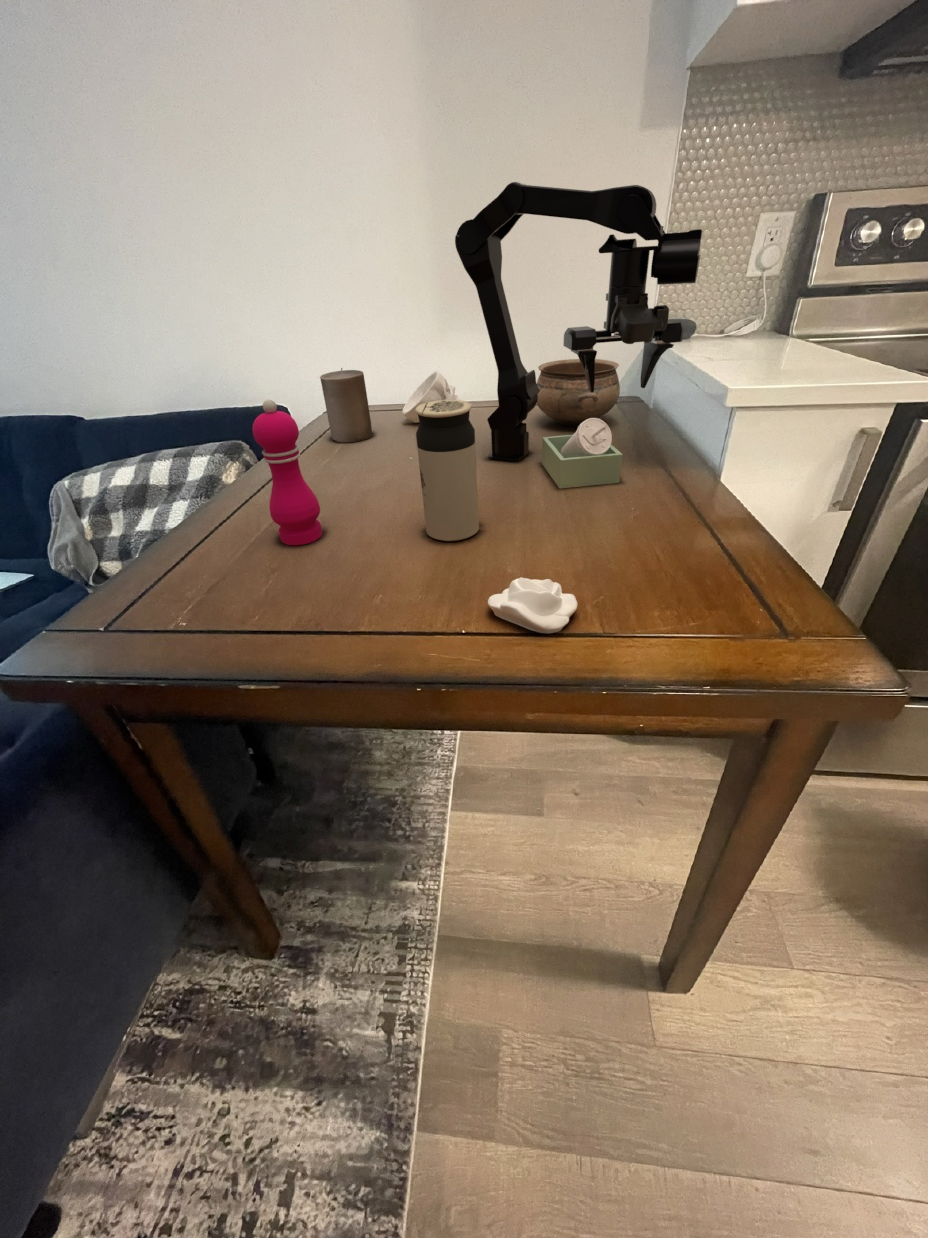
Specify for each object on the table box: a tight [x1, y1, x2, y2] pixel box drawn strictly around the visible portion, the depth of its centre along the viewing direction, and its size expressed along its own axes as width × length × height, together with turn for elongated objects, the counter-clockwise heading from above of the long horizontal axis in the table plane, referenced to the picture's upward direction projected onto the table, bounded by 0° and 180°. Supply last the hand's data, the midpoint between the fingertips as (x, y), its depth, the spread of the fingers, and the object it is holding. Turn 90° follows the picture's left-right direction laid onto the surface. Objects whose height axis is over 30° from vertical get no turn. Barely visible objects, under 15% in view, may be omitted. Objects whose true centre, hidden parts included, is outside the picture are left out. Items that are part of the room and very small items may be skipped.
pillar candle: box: [319, 367, 374, 443], centre depth 123 cm, size 10×10×15 cm
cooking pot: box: [536, 358, 621, 427], centre depth 123 cm, size 25×19×12 cm
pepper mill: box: [252, 398, 323, 546], centre depth 78 cm, size 7×7×20 cm
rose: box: [487, 576, 578, 634], centre depth 61 cm, size 10×4×10 cm
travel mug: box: [415, 399, 480, 542], centre depth 77 cm, size 8×8×18 cm
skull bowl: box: [401, 370, 463, 424], centre depth 134 cm, size 10×14×12 cm
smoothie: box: [561, 418, 613, 458], centre depth 94 cm, size 6×6×14 cm
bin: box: [541, 434, 623, 489], centre depth 98 cm, size 14×11×5 cm
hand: (617, 389), depth 95 cm, fingers open, 9 cm apart
